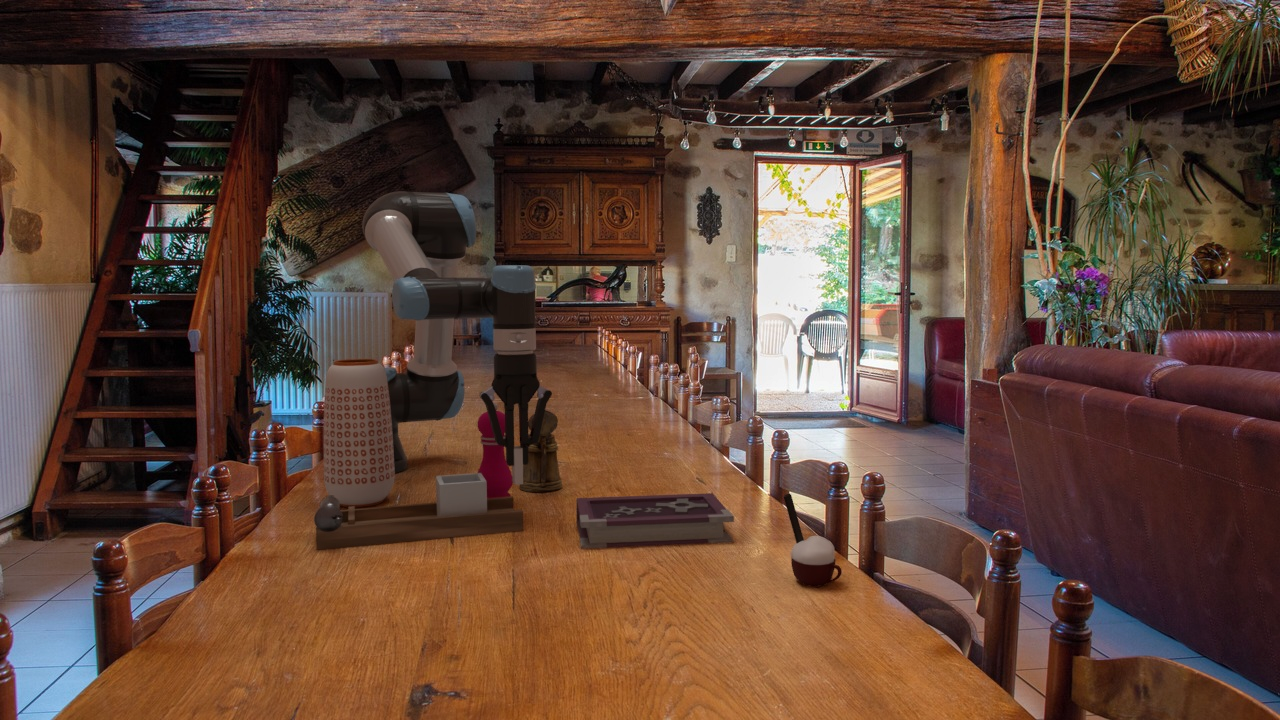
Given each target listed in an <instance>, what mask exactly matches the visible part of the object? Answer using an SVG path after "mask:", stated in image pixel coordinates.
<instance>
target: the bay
mask: <svg viewBox="0 0 1280 720" xmlns="http://www.w3.org/2000/svg"><path fill="white" fill-rule="evenodd" d="M340 510H341V512H342V514H343V521H342V524H341V525H340V527H339V528H338V529H336V530H335V531H334V530H333V529H335V528H337V527H335V528H334V527H333V528H332V529H331V528H330V529H331V530H333V531H332V532H324V531H325V530H326V531H331V530H330V529H329V528H323V529H325V530H322V531H321V530H320V529H318V528H317V527H316V526H315V527H316V528H315V537H316V538H315V540H316V551H317V550H319V551H320V550H329V549H330V550H333V549H342V548H352V547H363V546H373V545H382V544H383V545H384V544H396V543H405V542H417V541H425V540H428V541H429V540H437V539H439V540H440V539H448V538H450V539H451V538H459V537H470V536H481V535H490V534H499V533H501V534H502V533H512V532H521V531H524V510H523V509H515V508H514V496H513V495H512V496H509V497H497V498H487V513H477V514H465V515H453V516H442V517H438V516H437V501H436V502H425V503H423V502H422V503H412V504H411V503H410V504H401V505H389V506H388V505H386V506H375V507H373V506H372V507H360V508H355V506H351V507H348V509H340ZM328 529H329V530H328Z"/></svg>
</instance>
